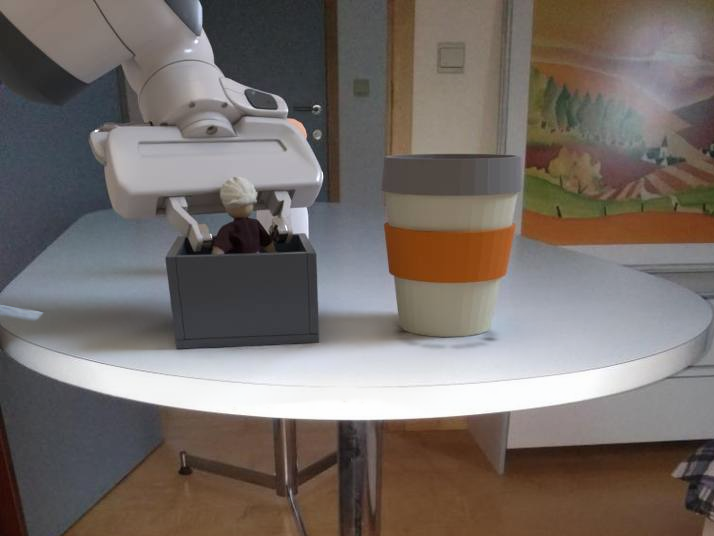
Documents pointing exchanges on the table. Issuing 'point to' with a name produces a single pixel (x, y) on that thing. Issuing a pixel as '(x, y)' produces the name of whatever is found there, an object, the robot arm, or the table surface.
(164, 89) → the robot arm
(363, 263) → the table surface
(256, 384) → the table surface
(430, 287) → the reusable coffee cup
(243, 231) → the grandmother figurine
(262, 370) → the table surface
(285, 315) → the dark grey storage bin
